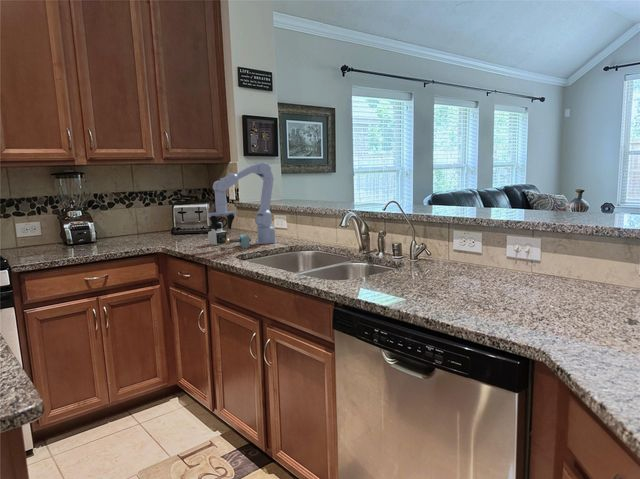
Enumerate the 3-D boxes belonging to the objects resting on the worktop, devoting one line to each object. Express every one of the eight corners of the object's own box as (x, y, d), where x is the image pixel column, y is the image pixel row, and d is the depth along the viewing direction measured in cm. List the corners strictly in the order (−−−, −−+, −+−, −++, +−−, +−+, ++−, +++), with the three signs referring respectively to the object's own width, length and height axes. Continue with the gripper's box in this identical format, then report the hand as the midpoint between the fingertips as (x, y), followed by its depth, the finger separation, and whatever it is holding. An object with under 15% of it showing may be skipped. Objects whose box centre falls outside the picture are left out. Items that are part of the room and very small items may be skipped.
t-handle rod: (250, 240, 254) (249, 235, 253) (252, 243, 245) (251, 238, 244) (224, 242, 250) (224, 237, 250) (226, 245, 241) (225, 240, 241)
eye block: (247, 244, 254) (246, 234, 253) (249, 247, 244) (249, 237, 243) (240, 244, 253) (239, 234, 252) (242, 248, 243) (241, 237, 242)
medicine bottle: (217, 245, 254) (215, 223, 252) (208, 244, 258) (207, 223, 256) (227, 243, 259) (225, 222, 257) (218, 242, 264) (217, 221, 261)
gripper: (231, 202, 249) (232, 227, 251) (204, 204, 241) (206, 230, 243) (236, 203, 243) (237, 228, 245) (209, 205, 235) (211, 231, 237)
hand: (222, 229), depth 244 cm, fingers open, 7 cm apart
